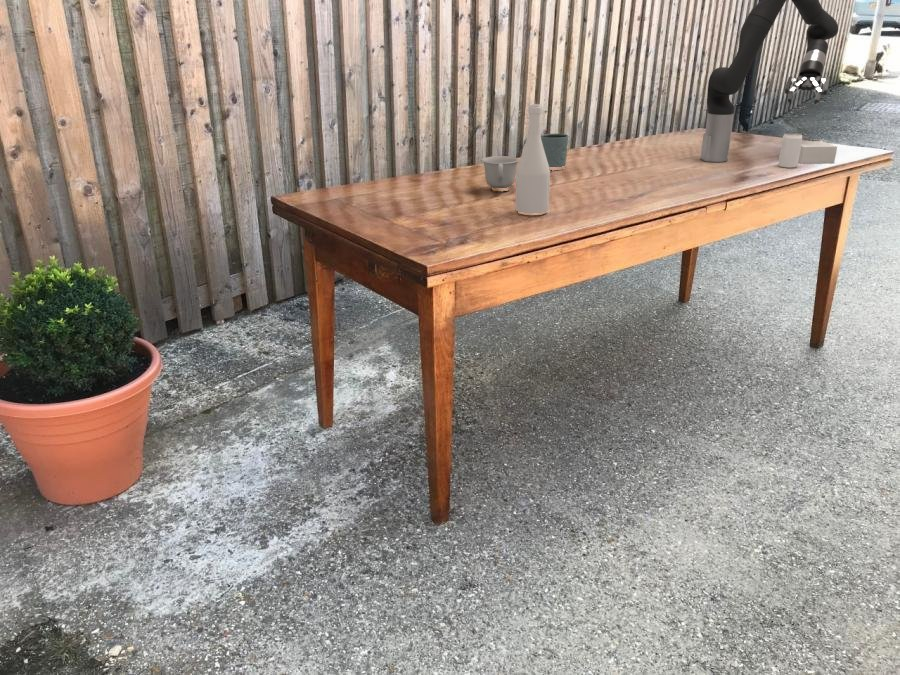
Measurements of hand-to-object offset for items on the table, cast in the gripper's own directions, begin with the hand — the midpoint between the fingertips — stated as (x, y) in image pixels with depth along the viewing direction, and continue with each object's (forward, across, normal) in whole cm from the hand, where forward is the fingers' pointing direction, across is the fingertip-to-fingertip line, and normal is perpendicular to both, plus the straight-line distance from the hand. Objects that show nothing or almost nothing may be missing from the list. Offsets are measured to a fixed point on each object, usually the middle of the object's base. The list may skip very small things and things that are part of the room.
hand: (802, 102), depth 263 cm
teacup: (+81, -75, -53) cm, 122 cm away
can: (+24, 0, +7) cm, 24 cm away
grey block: (+12, +6, +18) cm, 22 cm away
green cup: (+52, -75, -23) cm, 94 cm away
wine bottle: (+95, -54, -67) cm, 128 cm away
